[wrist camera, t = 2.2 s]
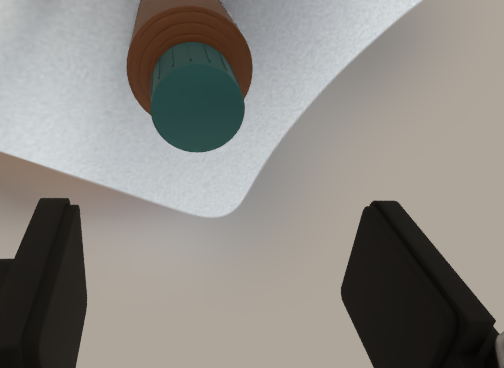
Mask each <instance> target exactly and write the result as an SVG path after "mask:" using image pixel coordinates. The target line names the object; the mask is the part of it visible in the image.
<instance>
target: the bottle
mask: <svg viewBox="0 0 504 368" xmlns="http://www.w3.org/2000/svg"><path fill="white" fill-rule="evenodd" d="M186 42H199V43H205V44H207V45H209V46H211V47H213V48H215V49H216V50H217V51H220V53H221V54H222V55H223V56H224V57H225V59H226V60H227V62H228V63H230V65H231V67H232V69H233V71H234V73H235V75H236V77H237V80H238V82H239V84H238V85H239V87H240V90H241V92H242V95H243V98H245V97H246V95H247V92H248V90H249V87H250V84H251V79H252V58H251V53H250V50H249V47H248V44H247V42H246V40H245V38H244V37H243V35H242V34H241V32H240V31H239V29H238V28H237V26H236V25H235V23H234V22H233V20H232V19H231V17H230V16H229V14H228V13H227V11H226V10H225V9H224V7H223V6H222V4H221V3H220V1H219V0H141V2H140V5H139V9H138V14H137V18H136V22H135V26H134V30H133V34H132V39H131V43H130V47H129V51H128V57H127V76H128V81H129V85H130V87H131V90H132V92H133V94H134V96H135V98H136V100H137V101H138V102H139V104H140V105H141V106H142V107H143V109H144V110H145V111H146V112H148V113H149V114H150V115H151V113H150V105H151V95H150V91H151V74H152V73H153V71H154V68H155V65H156V63H157V61H158V58H160V57H161V56H162V55H163V54H164V53H165V52H166V51H167V50H168V49H170V48H171V47H173V46H176V45H178V44H181V43H186Z"/></svg>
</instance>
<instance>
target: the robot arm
mask: <svg viewBox="0 0 504 368" xmlns="http://www.w3.org/2000/svg"><path fill="white" fill-rule="evenodd" d="M341 296H342V301H343V303H344V305H345V307H346V309H347V312H348V314H349V315H350V318H351V320H352V322H353V324H354V326H355V328H356V330H357V333H358V335H359V337H360V339H361V341H362V343H363V346H364V348H365V349H366V352H367V354H368V356H369V358H370V360H371V363H372V365H373V367H374V368H504V332H502V333H501V334H499V333H498V332H497V331H496V329H495V328H494V327H493V325H494V323H495V322H496V320H495V319H494V318H493V317H492V315H491V314H490V313H489V312H488V310H487V309H486V308H485V307H484V306H483V304H482V303H481V302H480V301H479V300H478V299H477V297H476V296H475V295H474V294H473V292H472V291H471V290H470V289H469V287H468V286H467V285H466V284H465V283H464V281H463V280H462V279H461V278H460V277H459V275H458V274H457V273H456V272H455V271H454V269H453V268H452V267H451V266H450V264H449V263H448V262H447V261H446V260H445V258H444V257H443V256H442V255H441V254H440V253H439V251H438V250H437V249H436V248H435V246H434V245H433V244H432V243H431V241H429V239H428V238H427V237H426V235H425V234H424V233H423V232H422V231H421V229H420V228H419V227H418V226H417V224H416V223H415V222H414V221H413V220H412V218H411V217H410V216H409V215H408V214H407V212H406V211H405V210H404V209H403V207H402V206H401V205H400V204H399V203H398V202H396V201H373V202H372V203H371V204H370V206H367V207H365V208H364V210H363V212H362V216H361V220H360V223H359V226H358V230H357V234H356V237H355V241H354V244H353V248H352V251H351V255H350V258H349V262H348V265H347V269H346V272H345V276H344V280H343V283H342V287H341ZM86 308H87V290H86V279H85V267H84V255H83V243H82V231H81V219H80V209H79V206H78V205H70V201H69V199H68V198H41V199H40V200H39V202H38V204H37V206H36V209H35V211H34V214H33V216H32V218H31V221H30V223H29V225H28V227H27V230H26V232H25V235H24V237H23V239H22V242H21V244H20V246H19V249H18V251H17V254H16V256H15V258H14V259H0V368H75V367H76V362H77V357H78V352H79V347H80V341H81V336H82V330H83V325H84V320H85V315H86Z"/></svg>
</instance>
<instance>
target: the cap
mask: <svg viewBox="0 0 504 368" xmlns="http://www.w3.org/2000/svg"><path fill="white" fill-rule="evenodd" d="M238 84H239V82H238V80H237V77H236V75H235V73H234V71H233V69H232V67H231V65H230V63H228V62H227V60H226V59H225V57H224V56H223V55H222V54H221V53H220V51H217V50H216V49H215V48H213V47H211V46H209V45H207V44H205V43H199V42H186V43H181V44H178V45H176V46H173V47H171V48H170V49H168V50H167V51H166V52H165V53H164V54H163V55H162V56H161V57H160V58H158V61H157V63H156V65H155V68H154V71H153V73H152V74H151V91H150V95H151V105H150V113H151V116H152V120H153V123H154V126H155V128H156V130H157V131H158V133H159V134H160V135H161V136H162V137H163V139H164V140H166V141H167V142H168V143H169V144H171V145H173V146H174V147H176V148H178V149H181V150H184V151H189V152H206V151H211V150H214V149H216V148H219V147H221V146H222V145H224V144H225V143H227V142H228V141H229V140H230V139H232V138H233V136H234V135H235V134H236V133H237V131H238V130H239V128H240V126H241V124H242V121H243V118H244V111H245V105H244V98H243V95H242V92H241V90H240V87H239V85H238Z"/></svg>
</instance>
